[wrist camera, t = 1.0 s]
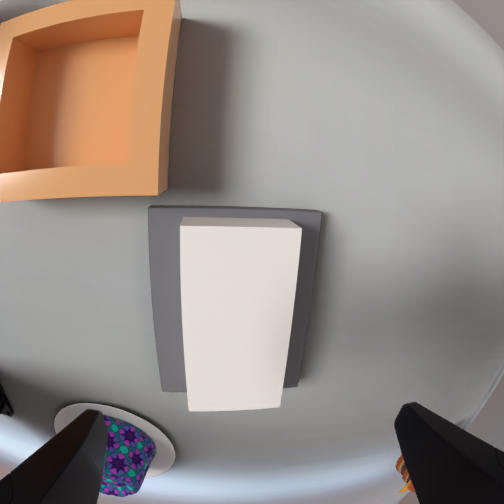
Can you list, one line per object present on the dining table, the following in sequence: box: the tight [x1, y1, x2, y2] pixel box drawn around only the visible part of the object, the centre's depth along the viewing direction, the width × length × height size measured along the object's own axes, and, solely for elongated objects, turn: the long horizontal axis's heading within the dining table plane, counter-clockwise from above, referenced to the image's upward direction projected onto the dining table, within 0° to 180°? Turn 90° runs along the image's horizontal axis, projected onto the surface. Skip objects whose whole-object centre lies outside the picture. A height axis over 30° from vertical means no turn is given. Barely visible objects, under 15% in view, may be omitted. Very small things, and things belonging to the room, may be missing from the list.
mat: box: [148, 206, 322, 392], centre depth 19 cm, size 13×10×1 cm
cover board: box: [180, 217, 302, 411], centre depth 18 cm, size 12×6×2 cm, turn 177°
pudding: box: [54, 403, 175, 497], centre depth 20 cm, size 12×12×5 cm
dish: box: [0, 0, 182, 202], centre depth 13 cm, size 11×11×4 cm
